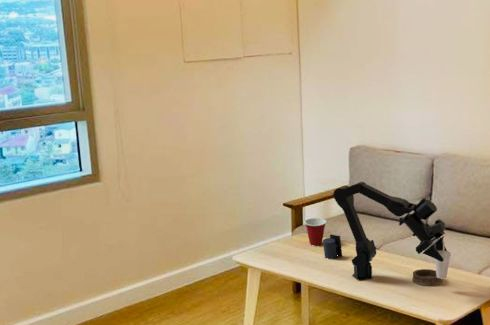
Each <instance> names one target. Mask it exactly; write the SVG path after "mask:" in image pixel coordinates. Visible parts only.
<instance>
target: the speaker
mask: <svg viewBox="0 0 490 325" xmlns="http://www.w3.org/2000/svg"><path fill="white" fill-rule="evenodd" d="M322 244H323V250H324V251H323V252H324V258H325V259H327V258H328V260H333V259H332V258H334V259H335V258H338V257H339V256H342V257H343V252H342V251H343V249H342V240H341V235H336V234H329V237H327V238H323V239H322ZM337 255H338V256H337Z"/></svg>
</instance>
